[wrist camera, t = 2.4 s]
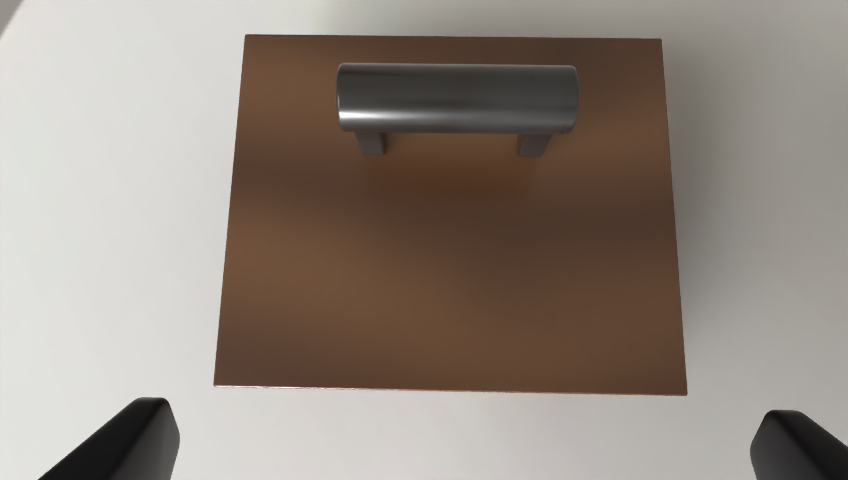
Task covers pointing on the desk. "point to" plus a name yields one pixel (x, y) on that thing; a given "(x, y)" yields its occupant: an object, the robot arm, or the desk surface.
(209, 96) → the desk surface
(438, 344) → the compartment lid
